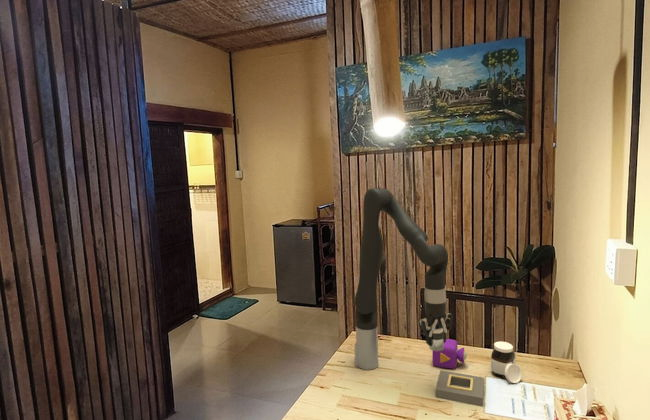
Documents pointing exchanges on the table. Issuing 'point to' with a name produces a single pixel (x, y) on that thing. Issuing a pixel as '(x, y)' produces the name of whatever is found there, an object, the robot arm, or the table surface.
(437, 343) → the lens
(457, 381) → the mount plate
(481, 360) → the table surface
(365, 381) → the table surface
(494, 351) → the spread jar
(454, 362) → the toy camera
